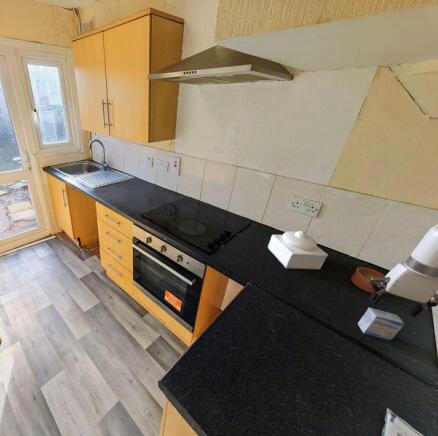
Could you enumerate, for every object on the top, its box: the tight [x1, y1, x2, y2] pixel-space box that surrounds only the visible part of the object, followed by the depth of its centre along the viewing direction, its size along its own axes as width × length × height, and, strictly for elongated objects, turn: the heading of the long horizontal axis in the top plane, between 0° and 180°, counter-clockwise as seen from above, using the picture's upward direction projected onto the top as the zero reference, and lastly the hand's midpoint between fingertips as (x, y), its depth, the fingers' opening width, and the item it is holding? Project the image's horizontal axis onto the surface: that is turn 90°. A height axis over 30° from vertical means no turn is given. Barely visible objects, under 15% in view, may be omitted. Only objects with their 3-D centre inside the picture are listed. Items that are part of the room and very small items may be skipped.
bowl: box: [350, 266, 386, 294], centre depth 100 cm, size 11×11×6 cm
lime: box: [364, 275, 375, 280], centre depth 100 cm, size 5×5×5 cm
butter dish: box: [267, 230, 329, 270], centre depth 114 cm, size 18×18×16 cm
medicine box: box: [357, 307, 405, 342], centre depth 78 cm, size 8×4×9 cm, turn 71°
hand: (391, 307), depth 74 cm, fingers open, 9 cm apart
